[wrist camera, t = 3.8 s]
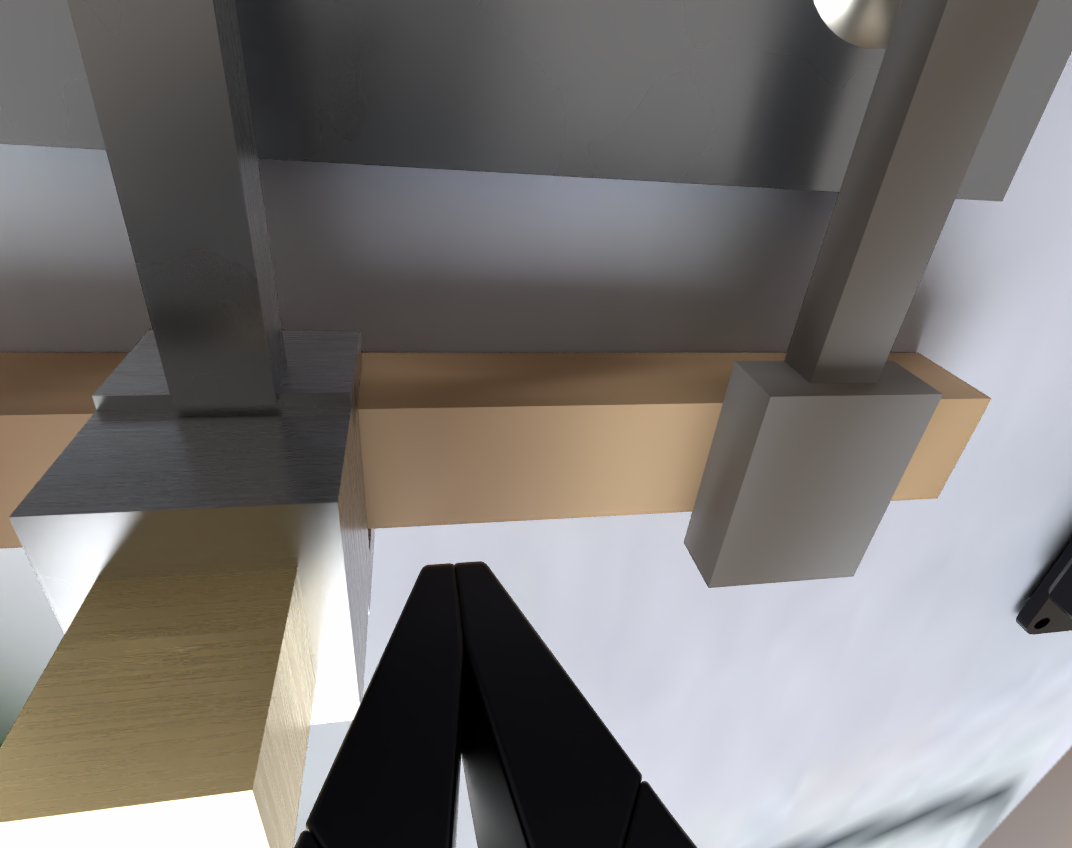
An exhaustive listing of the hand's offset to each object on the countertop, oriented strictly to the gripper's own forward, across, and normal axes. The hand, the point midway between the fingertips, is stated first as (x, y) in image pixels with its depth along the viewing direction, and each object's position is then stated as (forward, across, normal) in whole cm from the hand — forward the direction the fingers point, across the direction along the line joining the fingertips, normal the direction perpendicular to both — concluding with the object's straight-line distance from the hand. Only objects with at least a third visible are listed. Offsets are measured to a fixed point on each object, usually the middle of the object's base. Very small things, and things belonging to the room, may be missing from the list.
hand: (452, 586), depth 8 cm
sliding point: (+4, +3, -3) cm, 6 cm away
